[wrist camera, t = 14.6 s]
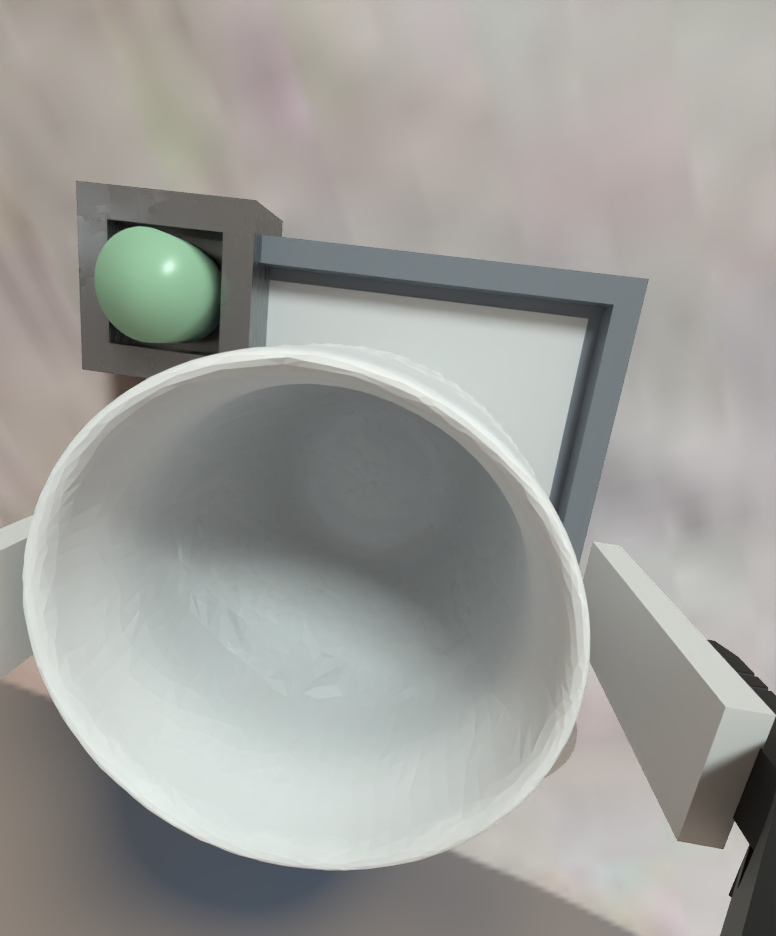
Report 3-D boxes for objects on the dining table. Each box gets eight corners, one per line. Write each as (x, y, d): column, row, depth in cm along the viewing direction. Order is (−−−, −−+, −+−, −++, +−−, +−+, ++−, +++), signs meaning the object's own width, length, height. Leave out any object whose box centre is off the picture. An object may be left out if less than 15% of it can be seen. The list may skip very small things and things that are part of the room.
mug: (621, 534, 21) (885, 811, 8) (441, 681, 24) (439, 1056, 11) (372, 288, 20) (246, 183, 7) (212, 473, 23) (-82, 632, 10)
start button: (133, 336, 21) (95, 335, 18) (132, 234, 20) (92, 220, 17) (224, 349, 20) (196, 349, 18) (227, 246, 19) (199, 232, 17)
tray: (228, 628, 26) (209, 654, 24) (247, 242, 21) (225, 230, 19) (533, 683, 25) (542, 715, 22) (626, 286, 20) (648, 279, 18)
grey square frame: (128, 366, 23) (82, 369, 20) (126, 203, 21) (76, 180, 18) (271, 386, 22) (246, 392, 19) (282, 220, 21) (256, 200, 18)
